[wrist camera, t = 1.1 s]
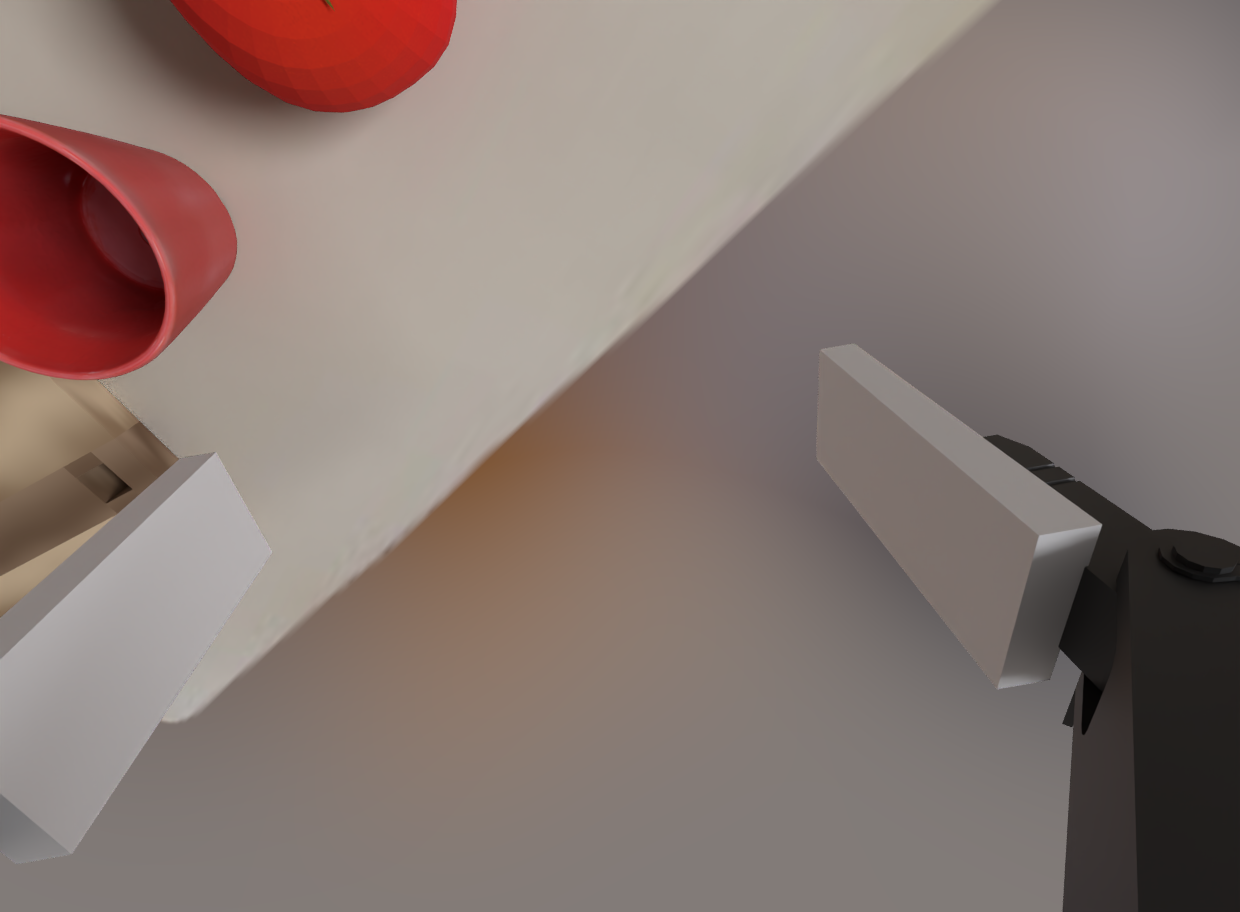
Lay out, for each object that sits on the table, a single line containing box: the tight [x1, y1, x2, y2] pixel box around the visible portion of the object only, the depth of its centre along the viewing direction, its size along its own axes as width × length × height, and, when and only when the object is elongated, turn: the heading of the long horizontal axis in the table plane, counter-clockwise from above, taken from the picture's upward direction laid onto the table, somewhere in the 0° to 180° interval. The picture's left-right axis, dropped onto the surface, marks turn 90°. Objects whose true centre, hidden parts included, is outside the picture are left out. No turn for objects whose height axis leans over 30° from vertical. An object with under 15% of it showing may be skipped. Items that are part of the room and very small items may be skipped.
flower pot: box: [0, 114, 237, 380], centre depth 28 cm, size 11×11×10 cm
